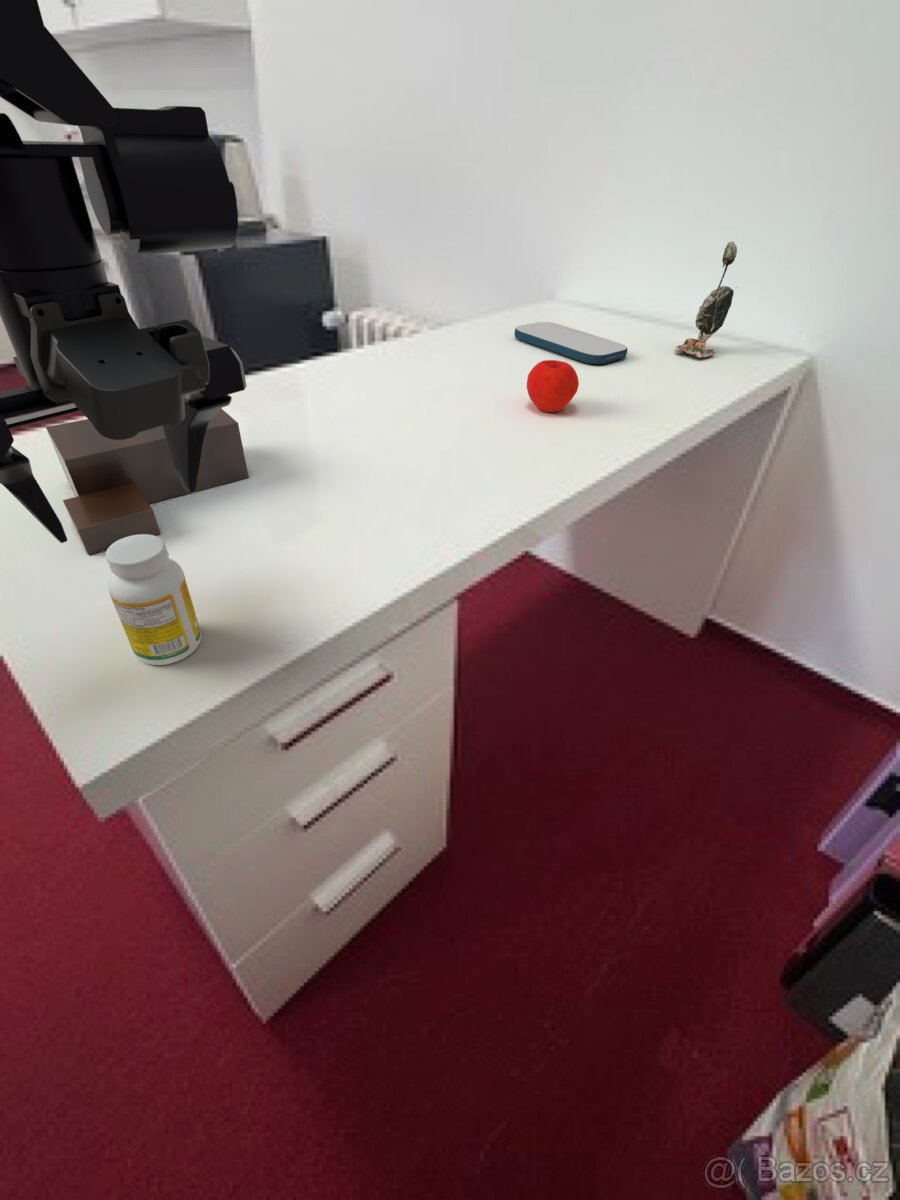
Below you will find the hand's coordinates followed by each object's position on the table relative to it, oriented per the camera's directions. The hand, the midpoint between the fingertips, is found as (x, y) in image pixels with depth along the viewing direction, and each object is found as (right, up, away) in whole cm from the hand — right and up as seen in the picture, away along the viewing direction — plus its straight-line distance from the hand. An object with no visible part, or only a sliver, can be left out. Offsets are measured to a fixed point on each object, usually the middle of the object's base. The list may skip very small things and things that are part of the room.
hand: (130, 514), depth 42 cm
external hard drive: (+46, +45, +79) cm, 102 cm away
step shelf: (-11, +6, +27) cm, 30 cm away
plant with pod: (+73, +44, +79) cm, 116 cm away
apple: (+38, +24, +52) cm, 69 cm away
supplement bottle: (-1, -10, +8) cm, 13 cm away
